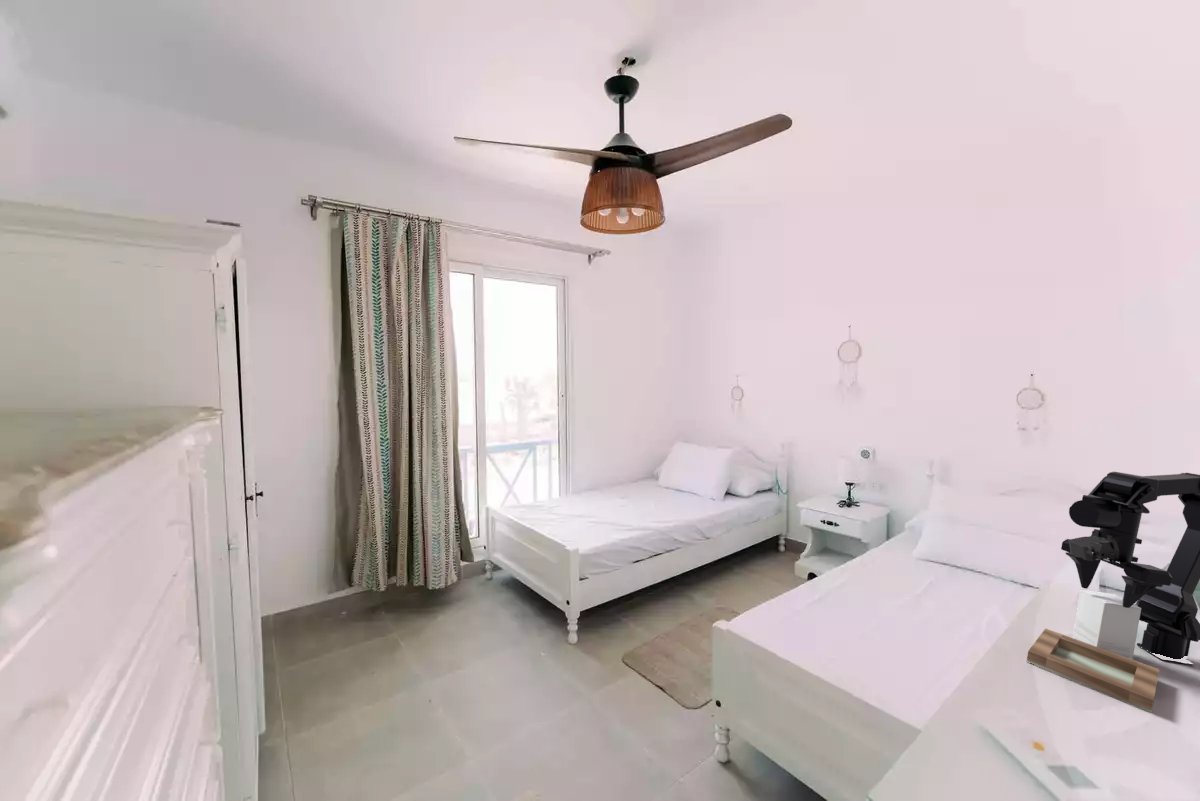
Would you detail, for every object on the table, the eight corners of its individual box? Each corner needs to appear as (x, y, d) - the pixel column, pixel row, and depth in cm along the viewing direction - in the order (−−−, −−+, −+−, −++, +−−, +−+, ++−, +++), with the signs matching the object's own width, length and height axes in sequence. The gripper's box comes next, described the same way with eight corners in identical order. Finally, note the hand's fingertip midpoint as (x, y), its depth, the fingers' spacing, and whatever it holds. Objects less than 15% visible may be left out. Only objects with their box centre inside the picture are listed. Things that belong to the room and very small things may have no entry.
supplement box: (1133, 663, 109) (1143, 608, 108) (1094, 656, 111) (1104, 602, 110) (1106, 645, 116) (1115, 593, 115) (1070, 638, 118) (1079, 588, 117)
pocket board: (1043, 638, 117) (1045, 628, 116) (1157, 680, 103) (1159, 669, 102) (1026, 661, 105) (1028, 650, 105) (1151, 713, 91) (1153, 700, 91)
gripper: (1044, 512, 118) (1032, 574, 119) (1126, 539, 99) (1110, 613, 100) (1091, 518, 118) (1078, 581, 119) (1181, 547, 99) (1165, 620, 100)
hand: (1104, 597), depth 110 cm, fingers open, 9 cm apart
